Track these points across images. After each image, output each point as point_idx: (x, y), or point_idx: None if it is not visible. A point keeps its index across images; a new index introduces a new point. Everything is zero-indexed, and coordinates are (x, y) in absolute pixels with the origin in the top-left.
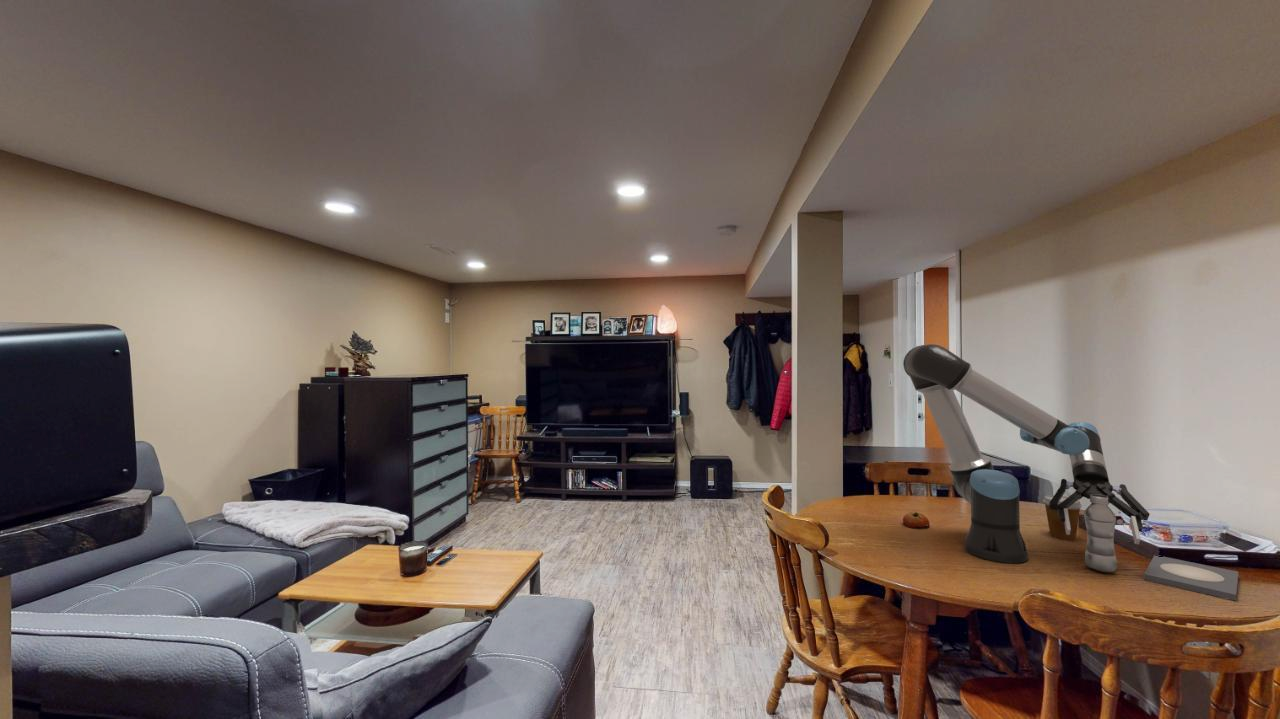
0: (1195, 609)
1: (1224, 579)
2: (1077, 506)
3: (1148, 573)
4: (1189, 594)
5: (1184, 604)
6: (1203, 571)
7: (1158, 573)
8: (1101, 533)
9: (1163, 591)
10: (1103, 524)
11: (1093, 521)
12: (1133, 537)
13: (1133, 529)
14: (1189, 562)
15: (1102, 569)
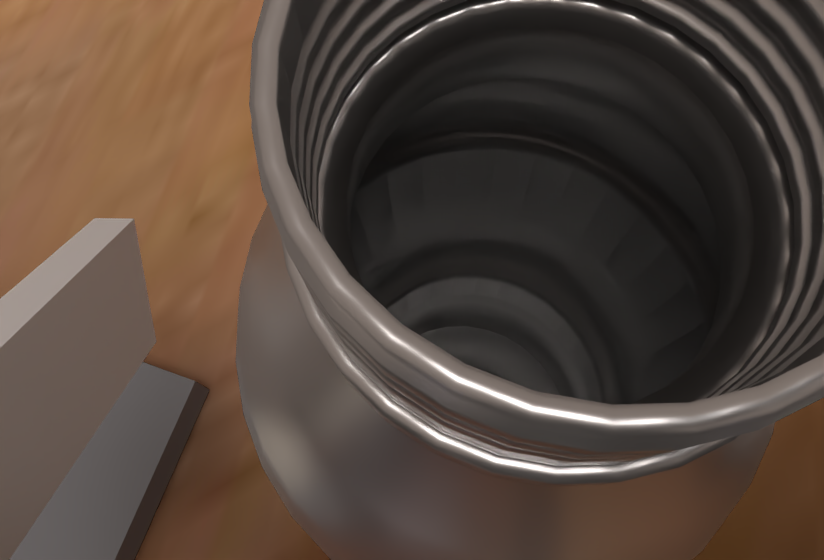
0: (126, 8)
1: None
2: None
3: (158, 411)
4: (40, 235)
5: (149, 51)
6: None
7: (81, 453)
8: (486, 239)
9: (175, 208)
10: (475, 152)
11: (606, 176)
12: (123, 377)
13: (69, 342)
14: None
15: (463, 347)
